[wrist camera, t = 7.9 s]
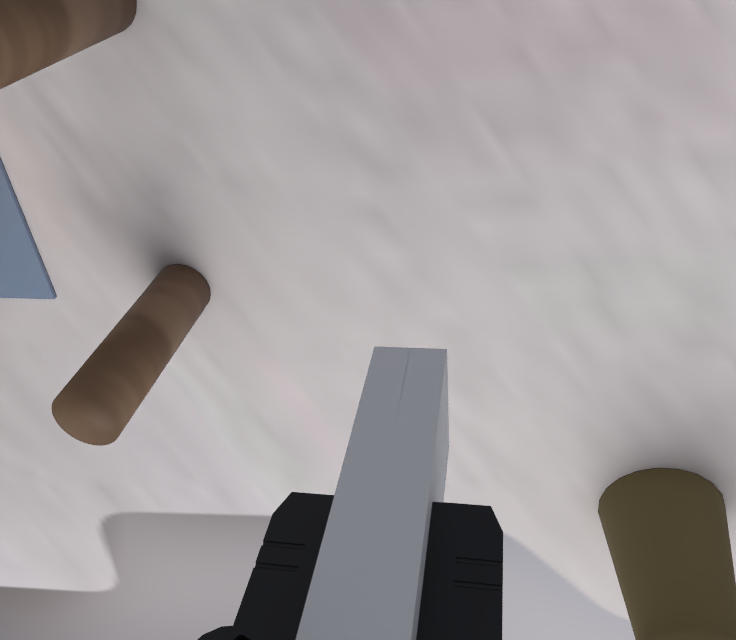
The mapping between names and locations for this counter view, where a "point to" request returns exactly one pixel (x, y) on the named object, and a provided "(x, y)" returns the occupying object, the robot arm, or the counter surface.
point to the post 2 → (131, 357)
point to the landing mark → (19, 251)
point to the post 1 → (54, 31)
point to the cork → (671, 554)
